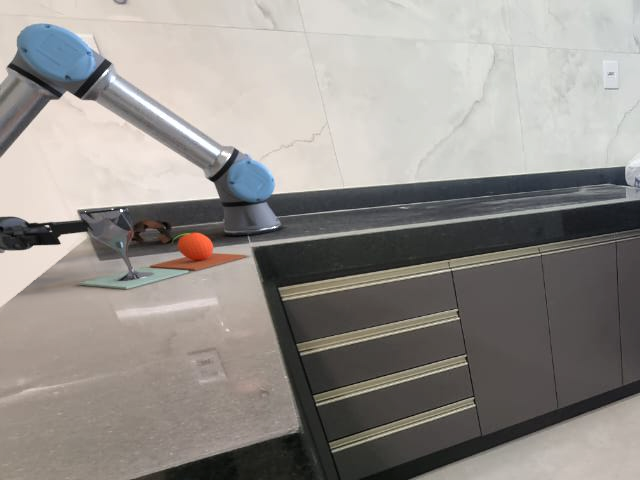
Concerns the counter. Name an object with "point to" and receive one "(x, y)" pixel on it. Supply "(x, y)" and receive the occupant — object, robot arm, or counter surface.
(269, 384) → the counter surface
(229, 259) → the fruit mat
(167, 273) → the glass mat
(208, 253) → the clementine
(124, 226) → the wine glass
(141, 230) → the brown segmented ring
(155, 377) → the counter surface
